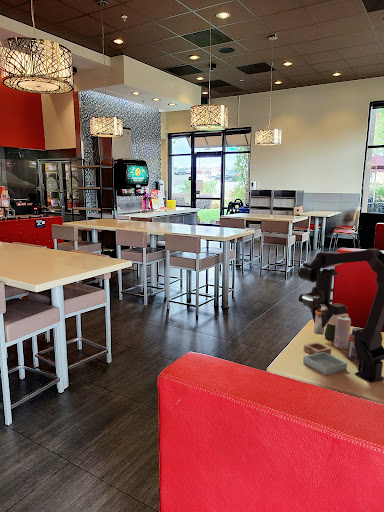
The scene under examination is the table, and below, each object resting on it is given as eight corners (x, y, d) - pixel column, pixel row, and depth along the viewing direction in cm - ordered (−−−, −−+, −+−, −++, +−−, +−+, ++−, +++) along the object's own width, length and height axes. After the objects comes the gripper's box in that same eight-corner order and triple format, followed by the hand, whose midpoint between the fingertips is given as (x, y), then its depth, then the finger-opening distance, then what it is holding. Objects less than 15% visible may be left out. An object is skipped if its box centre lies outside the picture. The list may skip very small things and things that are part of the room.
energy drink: (345, 344, 154) (348, 316, 152) (349, 349, 149) (353, 320, 147) (332, 343, 154) (335, 315, 152) (335, 348, 149) (338, 319, 147)
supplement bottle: (349, 353, 145) (352, 325, 143) (365, 358, 141) (369, 329, 140) (344, 358, 141) (347, 329, 139) (361, 363, 137) (364, 333, 135)
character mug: (345, 337, 162) (349, 308, 159) (345, 343, 155) (349, 312, 153) (319, 333, 166) (321, 304, 163) (317, 338, 159) (320, 308, 157)
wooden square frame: (330, 354, 144) (331, 348, 144) (317, 357, 141) (318, 351, 140) (316, 347, 150) (317, 341, 150) (303, 350, 147) (304, 344, 146)
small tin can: (327, 334, 143) (329, 311, 142) (318, 335, 141) (321, 312, 140) (318, 330, 147) (320, 308, 146) (310, 331, 145) (312, 309, 144)
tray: (346, 369, 131) (347, 363, 131) (325, 375, 127) (326, 368, 126) (323, 358, 140) (324, 351, 140) (303, 363, 135) (303, 356, 135)
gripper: (289, 281, 145) (286, 320, 148) (327, 293, 129) (323, 337, 132) (310, 279, 151) (307, 316, 153) (350, 290, 134) (345, 332, 137)
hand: (319, 325), depth 144 cm, fingers closed on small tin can, 4 cm apart
